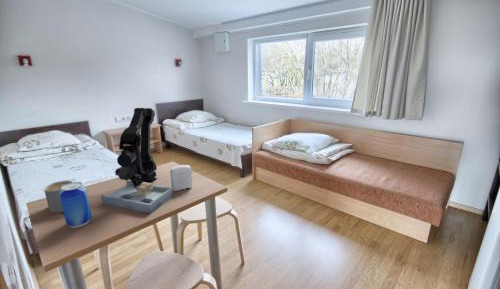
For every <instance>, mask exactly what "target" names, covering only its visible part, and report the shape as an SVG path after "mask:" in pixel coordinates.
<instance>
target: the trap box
mask: <svg viewBox="0 0 500 289" xmlns="http://www.w3.org/2000/svg"><path fill="white" fill-rule="evenodd" d="M125 181H126V183H125V184H126V185H124V186H122V187H120V188H118V189H117V190H115V191H113V192H112V193H109V194H108V195H107V194H101V195H100V198H101V199H100V200H101V203H102V204H104V205H109V206H113V207H118V208H122V209H128V210H132V211H136V212H141V213H146V214H152V213H153V212H155V211H156V210H158V208H160V207H161V206H162V205H163V204H165V203H166V202H167V201H168V200H170V199H171V198H173V196H174V193H173V192H174V191H173V190H172V188H171V187H169V186H168V187H167V186H161V185H156V184H153V192H152V193H150V194H149V195H147V196H143V195H138V194H137V190H136V188H135V186H134V185H133V183H132V181H131V180H125Z"/></svg>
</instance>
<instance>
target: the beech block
mask: <svg viewBox="0 0 500 289" xmlns="http://www.w3.org/2000/svg"><path fill="white" fill-rule="evenodd" d="M153 185H154V184H153V182H151V183H146V182H142V183H141V184H140V185H138V186H136V188H137V194H138V195H143V196H147V195H149V194H150V193H152V192H153Z"/></svg>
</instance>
